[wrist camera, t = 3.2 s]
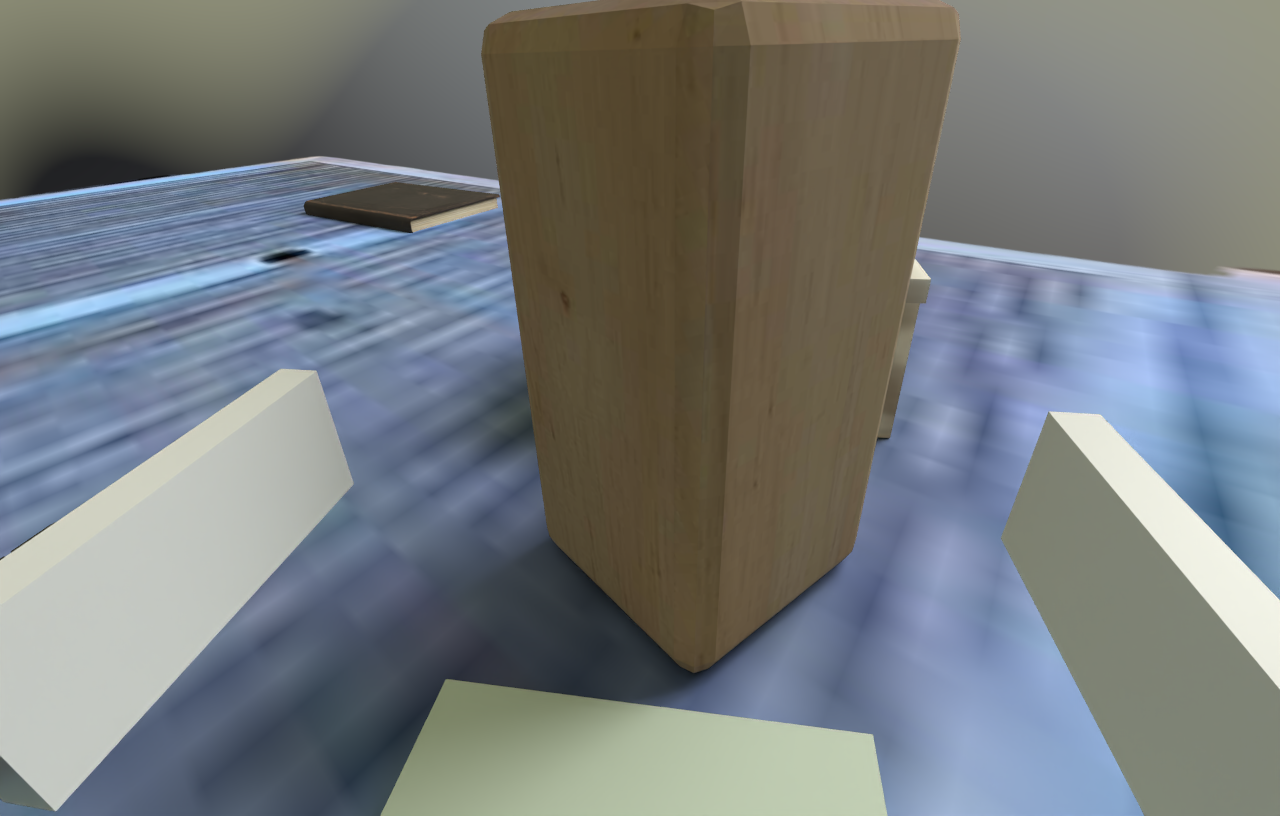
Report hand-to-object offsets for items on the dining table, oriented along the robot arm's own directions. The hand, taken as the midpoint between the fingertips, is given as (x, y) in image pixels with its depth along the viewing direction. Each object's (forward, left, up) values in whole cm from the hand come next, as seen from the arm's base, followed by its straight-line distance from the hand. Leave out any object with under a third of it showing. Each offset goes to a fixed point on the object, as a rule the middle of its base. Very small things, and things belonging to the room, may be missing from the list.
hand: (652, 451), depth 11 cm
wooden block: (0, -11, -13) cm, 17 cm away
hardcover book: (+47, -74, -13) cm, 88 cm away
